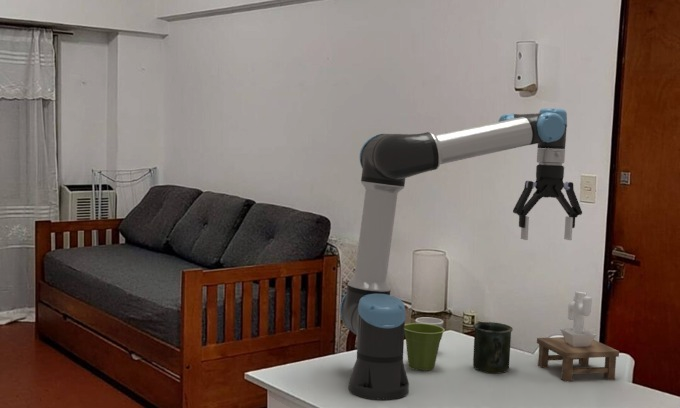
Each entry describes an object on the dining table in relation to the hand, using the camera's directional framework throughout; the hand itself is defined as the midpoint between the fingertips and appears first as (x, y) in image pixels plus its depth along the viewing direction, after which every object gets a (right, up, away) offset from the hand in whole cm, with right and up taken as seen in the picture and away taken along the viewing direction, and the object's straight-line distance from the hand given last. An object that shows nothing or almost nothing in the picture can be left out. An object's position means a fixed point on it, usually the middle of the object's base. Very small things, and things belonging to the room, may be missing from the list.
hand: (546, 239), depth 214 cm
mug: (-16, -37, -2) cm, 40 cm away
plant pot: (-35, -36, -1) cm, 50 cm away
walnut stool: (+8, -37, -1) cm, 38 cm away
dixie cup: (-32, -35, +14) cm, 49 cm away
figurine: (+8, -29, -2) cm, 31 cm away
